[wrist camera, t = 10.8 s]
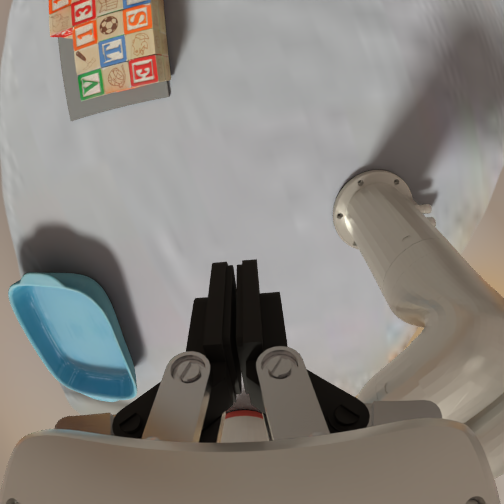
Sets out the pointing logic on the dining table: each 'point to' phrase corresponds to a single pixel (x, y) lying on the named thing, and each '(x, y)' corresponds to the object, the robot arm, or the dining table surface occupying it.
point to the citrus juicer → (244, 427)
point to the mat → (106, 101)
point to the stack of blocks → (113, 42)
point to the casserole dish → (75, 333)
